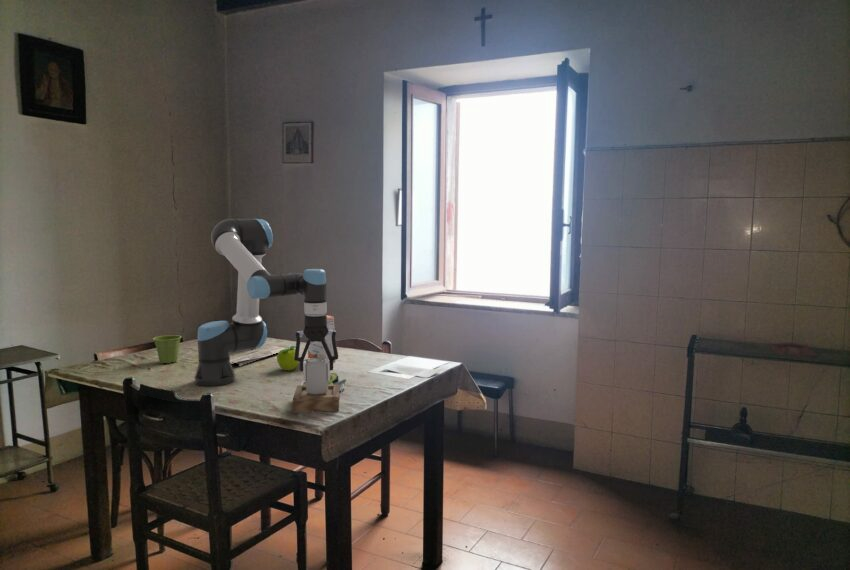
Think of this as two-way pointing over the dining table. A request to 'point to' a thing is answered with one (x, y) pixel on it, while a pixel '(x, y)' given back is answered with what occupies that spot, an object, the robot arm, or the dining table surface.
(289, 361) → the fruit
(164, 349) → the plant pot
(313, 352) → the cracker box
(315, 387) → the can
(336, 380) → the salad plate
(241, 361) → the newspaper
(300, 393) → the wooden tray
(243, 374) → the dining table surface
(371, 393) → the dining table surface
